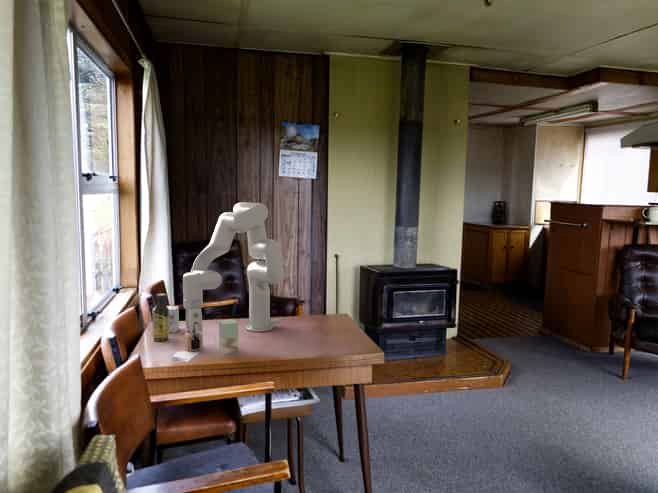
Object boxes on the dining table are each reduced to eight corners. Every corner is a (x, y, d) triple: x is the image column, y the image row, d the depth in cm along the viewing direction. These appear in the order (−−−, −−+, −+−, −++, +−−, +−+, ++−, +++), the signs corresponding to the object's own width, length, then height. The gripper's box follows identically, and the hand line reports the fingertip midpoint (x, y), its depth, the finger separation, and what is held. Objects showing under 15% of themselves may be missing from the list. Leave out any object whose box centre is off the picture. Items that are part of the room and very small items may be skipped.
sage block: (233, 333, 202) (233, 319, 201) (238, 337, 196) (238, 322, 196) (219, 335, 199) (219, 320, 198) (223, 339, 194) (223, 324, 193)
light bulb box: (151, 332, 222) (151, 309, 220) (155, 328, 228) (155, 305, 227) (176, 332, 223) (175, 309, 221) (179, 328, 229) (179, 305, 228)
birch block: (233, 347, 202) (233, 333, 202) (238, 352, 197) (238, 337, 196) (219, 349, 200) (219, 335, 199) (223, 354, 194) (223, 339, 194)
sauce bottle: (150, 340, 210) (149, 294, 208) (161, 336, 216) (160, 292, 213) (161, 342, 207) (160, 296, 205) (172, 339, 212) (171, 293, 210)
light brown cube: (199, 345, 205) (199, 331, 204) (202, 349, 200) (202, 335, 199) (184, 347, 202) (184, 333, 201) (187, 351, 197) (187, 336, 196)
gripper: (207, 307, 193) (207, 351, 195) (197, 298, 208) (198, 339, 210) (187, 308, 189) (188, 353, 191) (179, 299, 205) (180, 341, 207)
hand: (193, 345), depth 201 cm, fingers open, 6 cm apart
